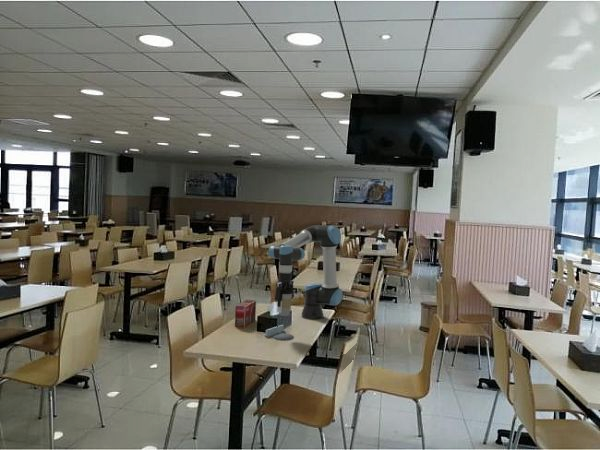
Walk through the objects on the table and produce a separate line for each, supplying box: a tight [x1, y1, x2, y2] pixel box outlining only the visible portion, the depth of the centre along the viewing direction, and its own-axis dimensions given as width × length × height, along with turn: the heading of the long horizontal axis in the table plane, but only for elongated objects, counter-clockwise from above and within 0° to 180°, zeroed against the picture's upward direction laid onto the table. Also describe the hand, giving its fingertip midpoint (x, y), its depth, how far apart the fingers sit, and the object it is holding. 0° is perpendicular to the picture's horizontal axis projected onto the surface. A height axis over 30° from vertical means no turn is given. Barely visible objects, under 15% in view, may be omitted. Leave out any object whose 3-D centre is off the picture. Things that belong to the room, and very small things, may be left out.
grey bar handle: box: [263, 324, 286, 338], centre depth 281 cm, size 16×3×4 cm, turn 145°
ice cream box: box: [234, 299, 257, 329], centre depth 302 cm, size 20×6×13 cm, turn 166°
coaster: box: [272, 332, 294, 341], centre depth 274 cm, size 12×12×1 cm
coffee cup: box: [278, 289, 293, 317], centre depth 274 cm, size 9×9×15 cm
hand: (284, 310), depth 274 cm, fingers closed on coffee cup, 8 cm apart
